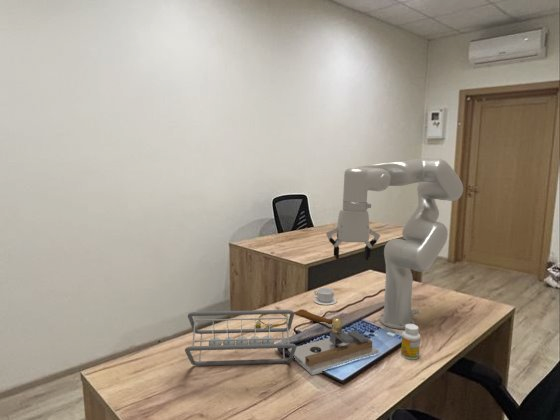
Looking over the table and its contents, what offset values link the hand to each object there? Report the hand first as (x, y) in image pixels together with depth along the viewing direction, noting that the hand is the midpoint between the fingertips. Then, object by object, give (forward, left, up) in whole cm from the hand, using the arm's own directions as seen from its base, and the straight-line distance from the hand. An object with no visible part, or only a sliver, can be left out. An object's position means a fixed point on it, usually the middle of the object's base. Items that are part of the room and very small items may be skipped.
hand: (351, 258), depth 131 cm
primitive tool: (+1, -20, -29) cm, 36 cm away
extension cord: (+17, -26, -29) cm, 43 cm away
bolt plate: (+10, +5, -29) cm, 31 cm away
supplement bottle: (-11, +17, -29) cm, 35 cm away
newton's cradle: (+36, -6, -25) cm, 45 cm away
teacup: (-13, -33, -29) cm, 46 cm away
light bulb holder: (+7, +5, -27) cm, 28 cm away
